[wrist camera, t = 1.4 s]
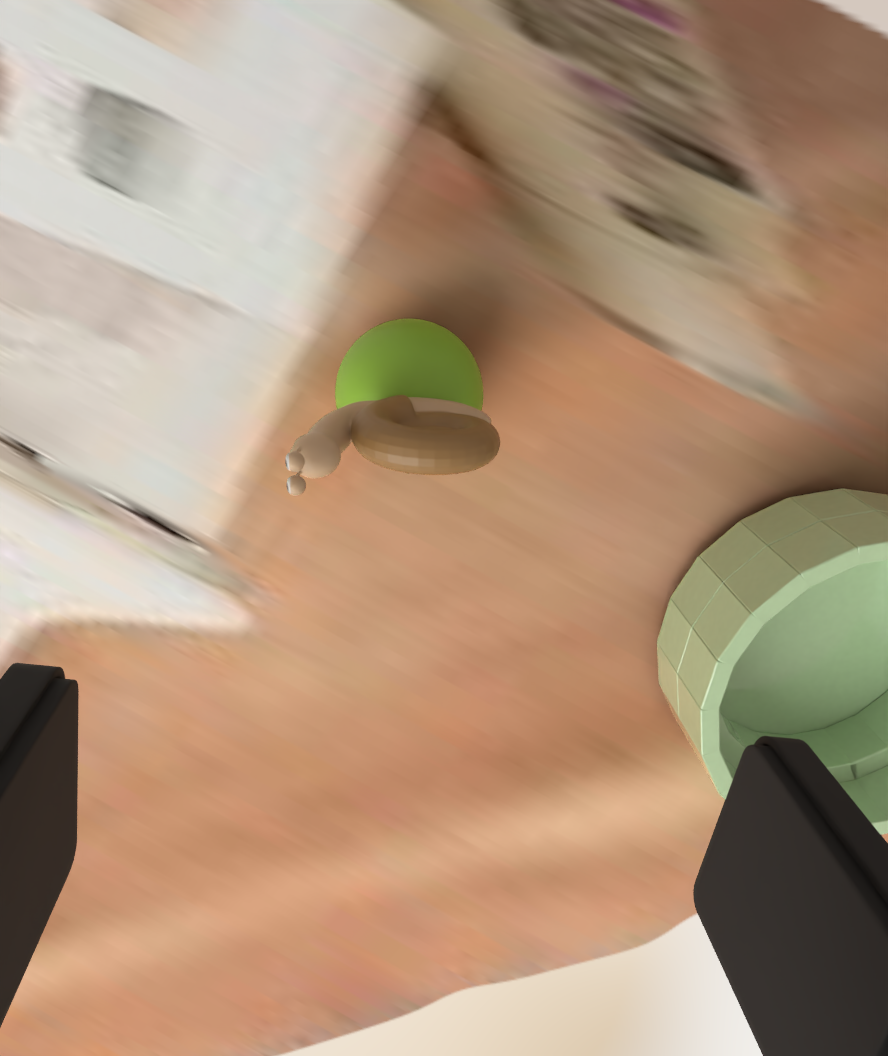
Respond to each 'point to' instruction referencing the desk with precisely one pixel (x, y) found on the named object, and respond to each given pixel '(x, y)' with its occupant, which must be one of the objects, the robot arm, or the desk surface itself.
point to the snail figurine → (402, 407)
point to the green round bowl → (788, 641)
